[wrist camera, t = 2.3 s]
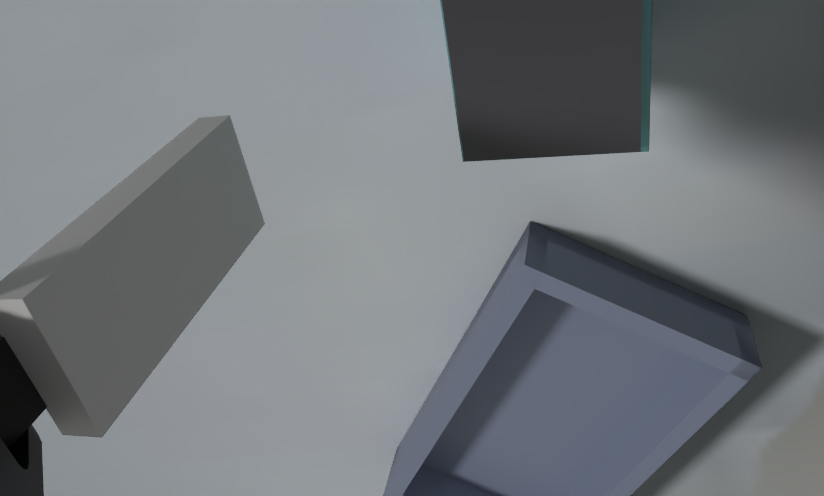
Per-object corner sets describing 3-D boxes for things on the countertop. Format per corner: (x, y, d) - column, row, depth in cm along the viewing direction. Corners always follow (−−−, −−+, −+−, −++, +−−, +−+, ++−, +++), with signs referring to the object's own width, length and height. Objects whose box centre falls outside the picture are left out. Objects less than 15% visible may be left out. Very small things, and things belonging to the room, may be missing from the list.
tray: (530, 221, 27) (524, 264, 25) (747, 316, 27) (762, 368, 25) (396, 450, 37) (383, 497, 34) (556, 517, 37) (554, 569, 35)
